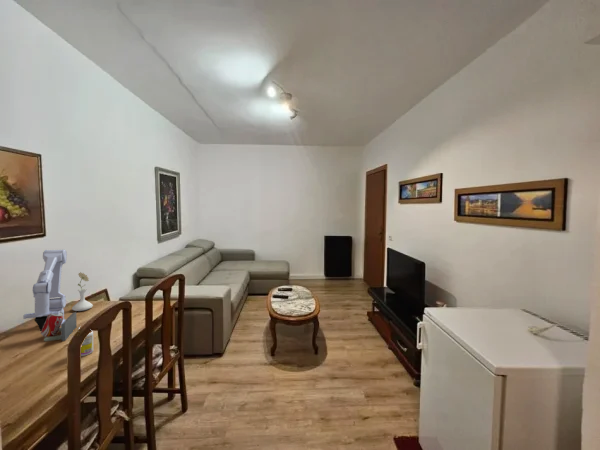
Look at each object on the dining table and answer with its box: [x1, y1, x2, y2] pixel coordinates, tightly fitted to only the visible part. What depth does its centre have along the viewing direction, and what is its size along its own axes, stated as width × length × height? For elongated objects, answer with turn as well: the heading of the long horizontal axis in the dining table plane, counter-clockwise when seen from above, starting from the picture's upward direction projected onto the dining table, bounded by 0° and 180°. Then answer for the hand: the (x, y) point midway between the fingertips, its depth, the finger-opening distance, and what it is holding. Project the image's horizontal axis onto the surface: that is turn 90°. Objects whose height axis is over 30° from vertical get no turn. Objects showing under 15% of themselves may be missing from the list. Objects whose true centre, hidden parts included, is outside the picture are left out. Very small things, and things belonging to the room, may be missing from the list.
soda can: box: [40, 311, 65, 338], centre depth 152 cm, size 7×7×12 cm
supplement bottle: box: [78, 326, 94, 357], centre depth 136 cm, size 7×7×13 cm
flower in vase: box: [71, 271, 94, 312], centre depth 192 cm, size 13×11×25 cm
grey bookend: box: [43, 311, 77, 342], centre depth 154 cm, size 18×10×9 cm, turn 23°
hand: (41, 330), depth 150 cm, fingers closed, pressing on soda can
